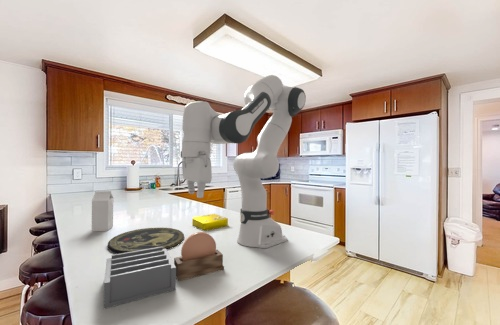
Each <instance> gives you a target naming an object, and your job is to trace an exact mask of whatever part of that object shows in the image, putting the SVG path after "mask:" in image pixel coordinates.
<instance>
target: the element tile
mask: <svg viewBox="0 0 500 325" xmlns="http://www.w3.org/2000/svg"><path fill="white" fill-rule="evenodd" d="M228 222H229V219H228V218H227V217H225V216H222V215H220V214H216V213H211V214H206V215H205V214H204V215H198V216H193V217H192V222H191V223H192V226H193V225H194V227H195V226H196V227H195V228H197V227H198V228H197V229H199V230H202V231H203V232H204V231H207V230H208V231H211V230H212V229H213V230H217V229H221V227H222V228H226V227H228V226H229V224H228Z"/></svg>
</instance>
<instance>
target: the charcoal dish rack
mask: <svg viewBox="0 0 500 325" xmlns="http://www.w3.org/2000/svg"><path fill="white" fill-rule="evenodd" d="M104 272H105V273H104V280H103V309H104V308H105V309H108V307H109V308H111V307H115V306H120V305H125V304H127V303H130V302H134V301H137V300H142V299H146V298H149V297H153V296H156V295H160V294H164V293H169V292H172V291H176V290H177V286H176V285H177V277H176V266H175V265H174V260H173V259H172V257H171V256H170V253H169V251H168V250H166V249H163V247H156V248H150V249H145V250H139V251H133V252H127V253H121V254H116V253H114V254H112V255H111V257H110V258H109V257H108V258H106V262H105V271H104Z"/></svg>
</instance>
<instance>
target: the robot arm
mask: <svg viewBox="0 0 500 325" xmlns="http://www.w3.org/2000/svg"><path fill="white" fill-rule="evenodd" d="M243 99H244V104H245V106H244V107H243V108H241V109H236V110H232V111H229V112H227V113H224V114H221V113H218V112H217V111H216V110H215V109H213V108H212V107H211V105H210V102H207V101H204V100H197V101H196V100H195V101H192V102H189V103H187V104H186V105H185V107H184V109H183V115H182V127H181V128H182V132H183V137H182V141H181V151H180V158H181V159H182V160H181V167H182V169H181V170H182V177H183V180H186V181H187V188H188V194H189V195H194V194H195V193H196V197H197V198H198V199H203V198H204V196H205V193H204V192H205V189H206V184H211V182H212V179H213V178H212V177H213V176H212V172H213V171H212V161H211V144H215V145H222V144H223V145H224V144H225V145H226V144H242V143H245V142H246V141H247V140H248V139H249V137H250V136H251V134H252V130H253V129H254V127H255V125H256V124H257V123H258V122H259V121H260V119H261V118H262V117H263V116H264V115H265V114H266V112H268V110H269V111H270V110H271V111H273V113H272V115H271V116H270V117H269V119H268V120H267V121H266V123H265V124H264V125H263V128H262V129H261V130H260V133H258V135H257V138H256V142H257V147H256V149H255V150H254V151H253V152H243V153H241V154H239V155H237V156H235V158H234V159H233V164H232V165H233V168H234V171H235V172H236V174H237V177H238V181H239V185H240V191H241V208H240V212H239V213H240V216H239V217H240V218H239V219H240V220H239V221H240V228H239V232H238V233H239V234H238V236H237V240H236V241H237V243H238V244H240V245H242V246H245V247H250V248H258V249H259V248H260V249H268V248H271V247H273V246H277V245H278V244H282V243H284V242H287V241H288V237H287V236H286V235H284V234H283V231H282V230H283V229H282V227H281V225H280V224H279V223H278V222H276V221H275V220H274V219H273V218H272V217H271V216H274V214H275V210H273V209H268V207H267V205H268V204H267V203H268V201H267V200H268V198H267V197H268V192H267V190H266V188H265V186H264V185H263V182H262V180H261V179H269V178H272V177H274V176H276V174H277V173H278V171H279V169H280V161H279V159H278V152H279V150H280V148H281V145H282V143H283V142H284V140H285V138H286V136H287V135H288V132H290V128H291V125H292V122H293V117H295V116H297V115H298V114H299V113H300V112H301V111H302V110H303V108H305V104H306V93H305V91H304V90H303V89H302V88H300V87H296V86H294V87H293V86H287V85H286V86H284V83H283V82H282V79H281V78H280V77H278V76H277V75H273V74H271V75H266V76H264V77H262V78H260V79H259V80H257V81H255V82H254V83H253V84H252V85H250V86H249V87H248V88H247V89H246V91H245V93H244V95H243ZM195 184H196V186H197V188H195ZM196 189H197V191H196ZM270 215H271V216H270Z"/></svg>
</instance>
